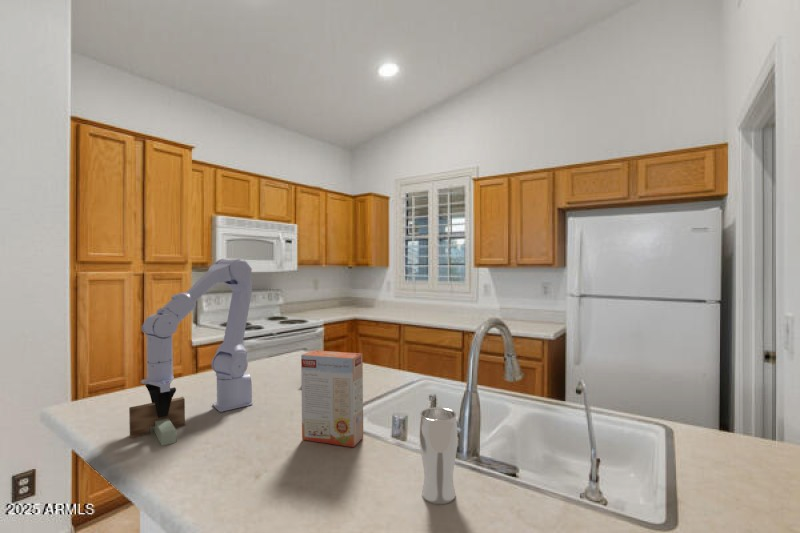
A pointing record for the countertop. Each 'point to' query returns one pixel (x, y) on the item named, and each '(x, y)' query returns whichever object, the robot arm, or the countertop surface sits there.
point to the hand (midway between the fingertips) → (160, 413)
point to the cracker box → (332, 397)
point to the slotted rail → (165, 431)
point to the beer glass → (438, 453)
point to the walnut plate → (154, 416)
